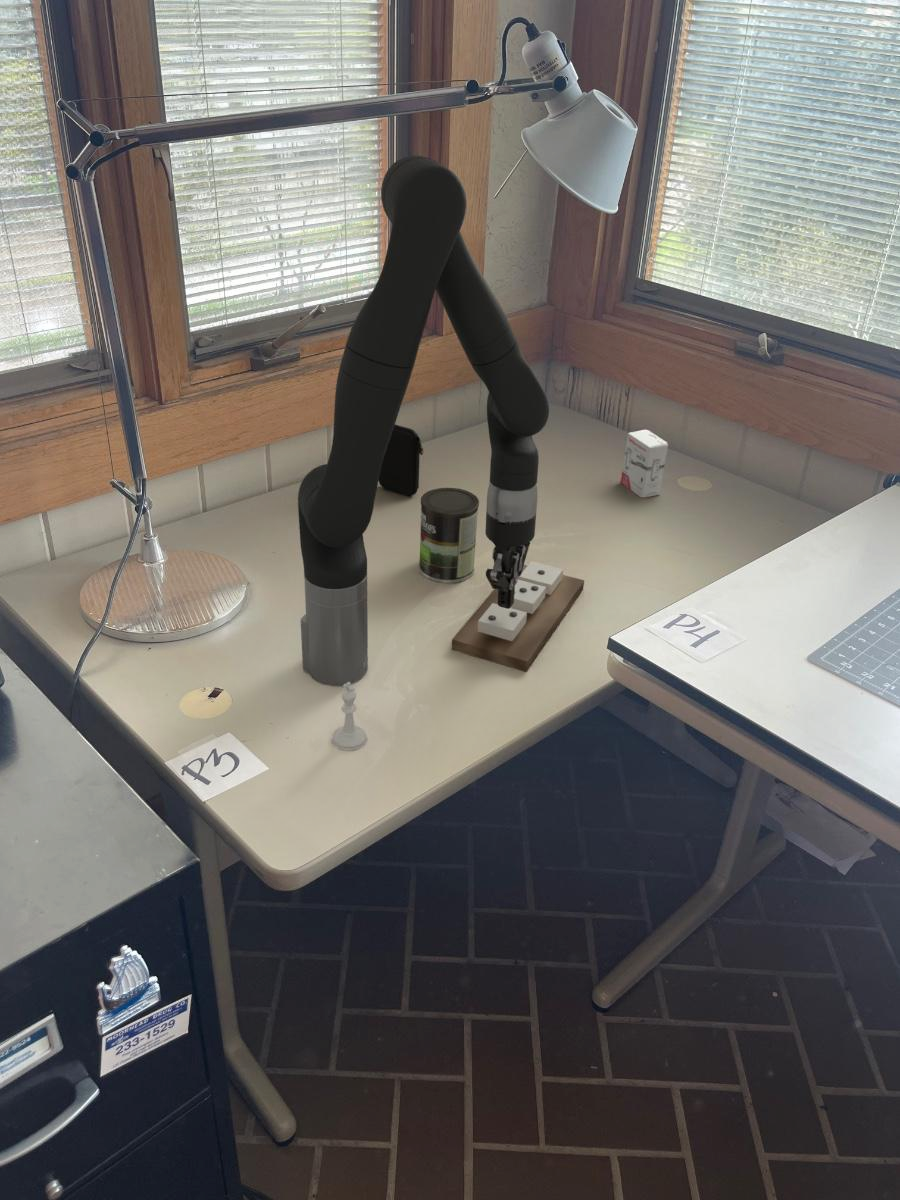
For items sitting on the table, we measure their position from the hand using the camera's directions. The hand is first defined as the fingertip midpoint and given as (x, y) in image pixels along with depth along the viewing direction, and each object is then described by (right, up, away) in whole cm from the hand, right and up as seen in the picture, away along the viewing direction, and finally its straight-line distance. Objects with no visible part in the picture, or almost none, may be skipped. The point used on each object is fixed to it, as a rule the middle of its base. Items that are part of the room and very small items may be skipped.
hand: (505, 605), depth 161 cm
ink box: (+32, +25, +56) cm, 69 cm away
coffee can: (-9, +6, +24) cm, 27 cm away
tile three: (+3, +1, +9) cm, 10 cm away
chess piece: (-23, -19, -18) cm, 35 cm away
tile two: (0, -4, +2) cm, 4 cm away
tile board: (+3, -2, +11) cm, 12 cm away
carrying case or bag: (-19, +23, +50) cm, 59 cm away
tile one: (+7, +4, +17) cm, 19 cm away
